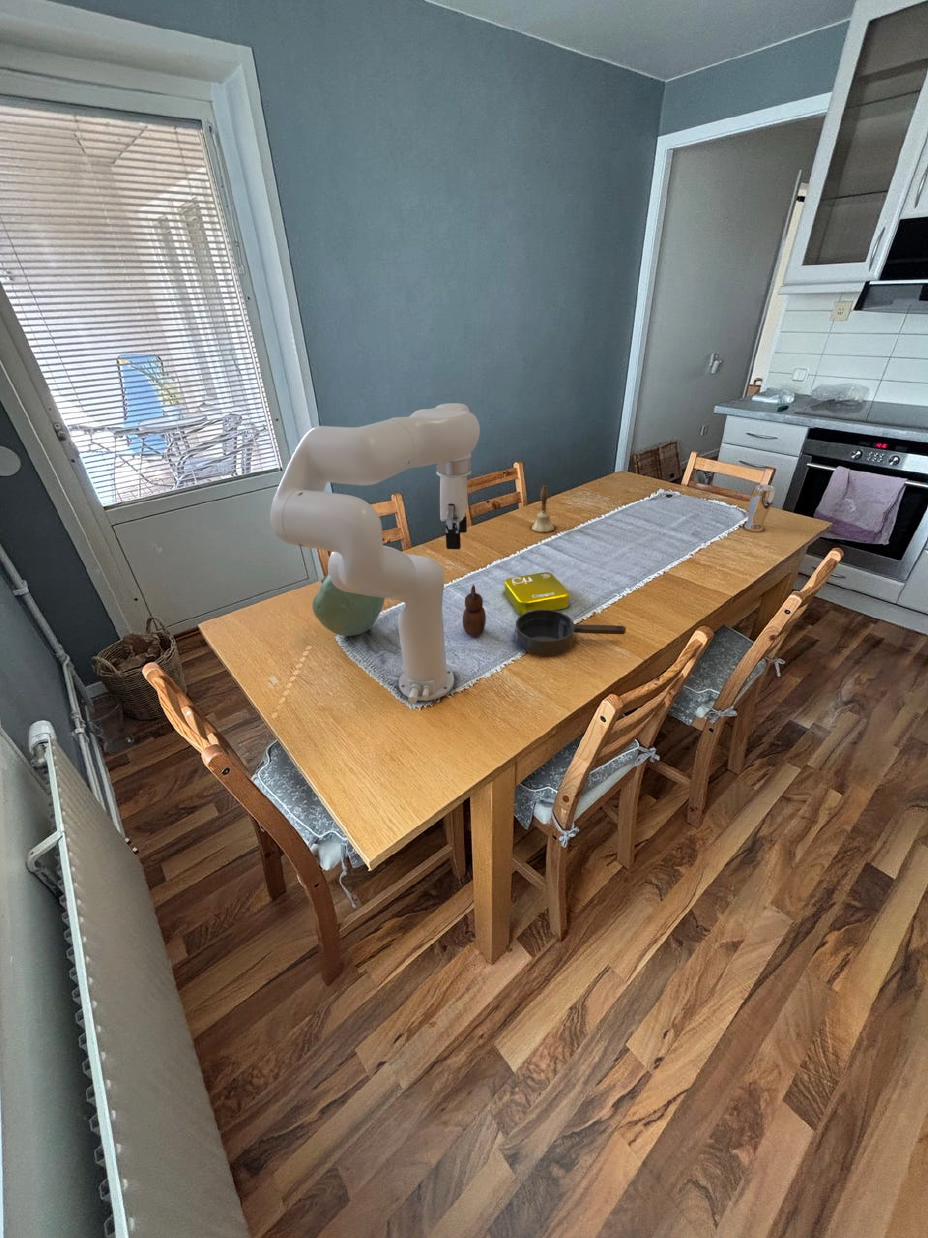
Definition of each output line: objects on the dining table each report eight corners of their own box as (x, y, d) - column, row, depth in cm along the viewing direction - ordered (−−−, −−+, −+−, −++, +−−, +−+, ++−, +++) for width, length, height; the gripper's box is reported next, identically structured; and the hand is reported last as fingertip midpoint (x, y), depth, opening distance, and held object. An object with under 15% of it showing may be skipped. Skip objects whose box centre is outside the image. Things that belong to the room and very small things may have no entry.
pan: (575, 657, 121) (576, 642, 119) (514, 655, 123) (514, 640, 120) (571, 624, 133) (572, 610, 131) (516, 623, 135) (516, 608, 133)
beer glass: (744, 531, 179) (755, 490, 171) (741, 524, 185) (752, 483, 177) (766, 532, 177) (778, 491, 169) (762, 525, 183) (774, 484, 175)
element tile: (520, 617, 137) (520, 602, 135) (502, 591, 150) (502, 577, 147) (571, 607, 140) (572, 592, 138) (549, 583, 153) (550, 569, 150)
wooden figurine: (483, 640, 129) (482, 589, 120) (461, 639, 130) (458, 588, 122) (487, 626, 134) (486, 576, 126) (466, 624, 135) (464, 575, 127)
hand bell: (527, 526, 191) (528, 485, 182) (546, 522, 193) (548, 481, 185) (539, 534, 184) (541, 491, 176) (558, 529, 187) (561, 487, 178)
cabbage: (309, 634, 134) (292, 567, 124) (368, 607, 145) (357, 543, 134) (340, 658, 124) (324, 588, 114) (401, 628, 135) (392, 560, 124)
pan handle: (625, 635, 123) (626, 630, 123) (572, 633, 125) (573, 628, 124) (624, 630, 125) (625, 625, 124) (572, 628, 127) (572, 623, 126)
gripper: (443, 455, 116) (447, 526, 125) (428, 477, 101) (434, 555, 110) (476, 455, 115) (477, 526, 124) (465, 477, 100) (467, 556, 109)
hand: (457, 540), depth 117 cm, fingers open, 9 cm apart
